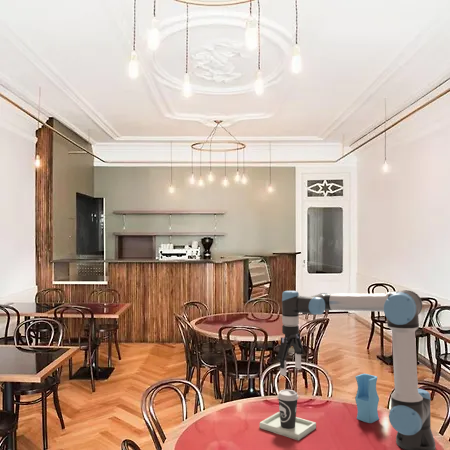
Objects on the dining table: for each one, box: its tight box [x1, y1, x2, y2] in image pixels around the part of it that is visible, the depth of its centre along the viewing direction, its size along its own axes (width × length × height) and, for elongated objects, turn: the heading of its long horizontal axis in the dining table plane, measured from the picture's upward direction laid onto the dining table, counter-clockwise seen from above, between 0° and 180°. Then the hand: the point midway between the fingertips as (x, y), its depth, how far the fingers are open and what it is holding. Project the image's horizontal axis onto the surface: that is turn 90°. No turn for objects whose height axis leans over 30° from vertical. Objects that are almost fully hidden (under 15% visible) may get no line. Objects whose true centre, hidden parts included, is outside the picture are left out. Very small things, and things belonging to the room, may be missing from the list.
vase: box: [354, 373, 380, 424], centre depth 215 cm, size 8×8×20 cm
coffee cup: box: [276, 389, 300, 429], centre depth 204 cm, size 10×10×15 cm
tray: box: [259, 411, 317, 441], centre depth 204 cm, size 20×16×2 cm
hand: (290, 371), depth 205 cm, fingers open, 13 cm apart
